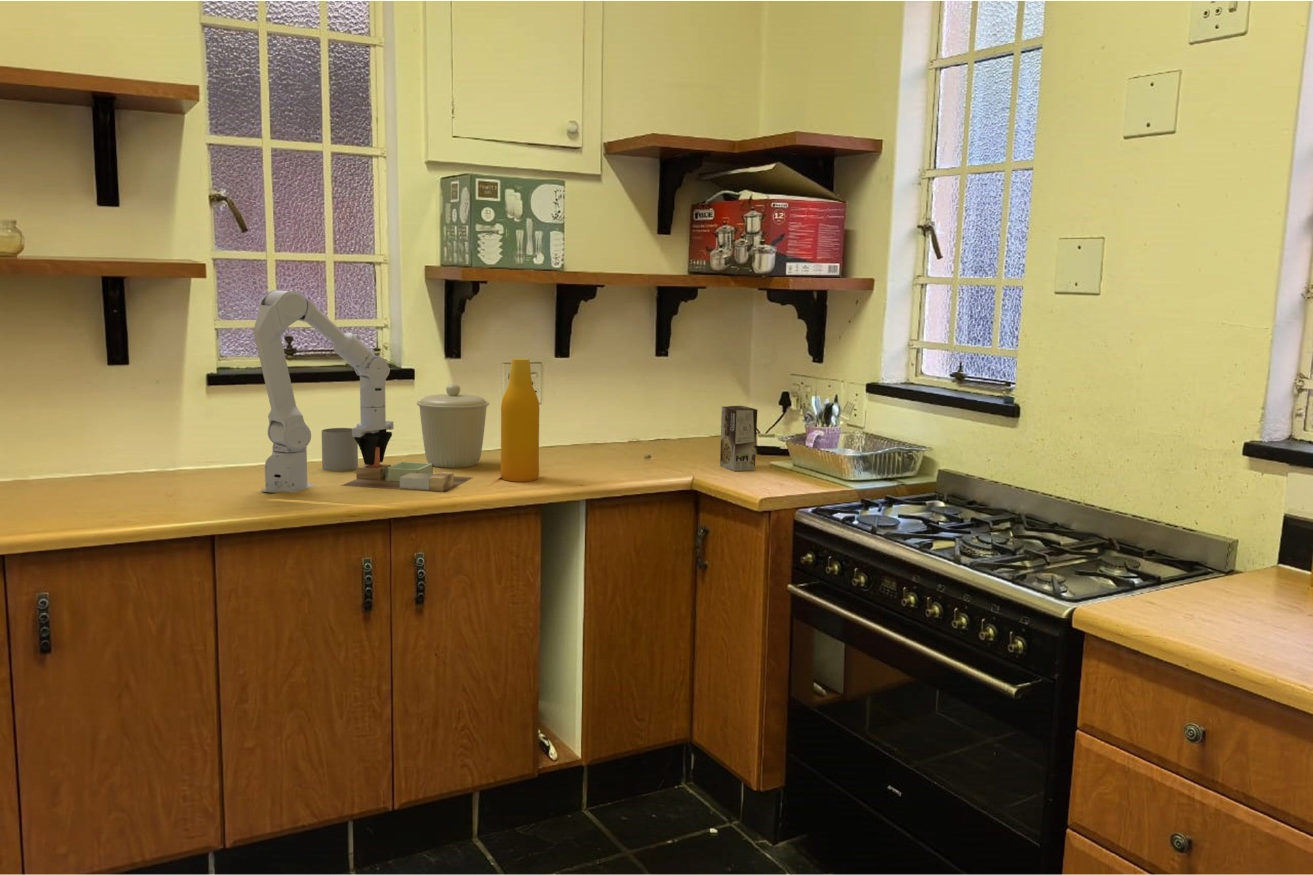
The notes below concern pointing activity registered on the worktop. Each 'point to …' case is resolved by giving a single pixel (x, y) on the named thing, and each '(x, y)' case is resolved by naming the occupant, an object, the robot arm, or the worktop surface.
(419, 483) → the grey flat block
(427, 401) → the canister
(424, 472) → the tray
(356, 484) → the bench board
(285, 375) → the robot arm
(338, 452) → the cup
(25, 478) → the worktop surface
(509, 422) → the beer bottle
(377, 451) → the dowel
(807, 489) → the worktop surface
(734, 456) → the coffee box
